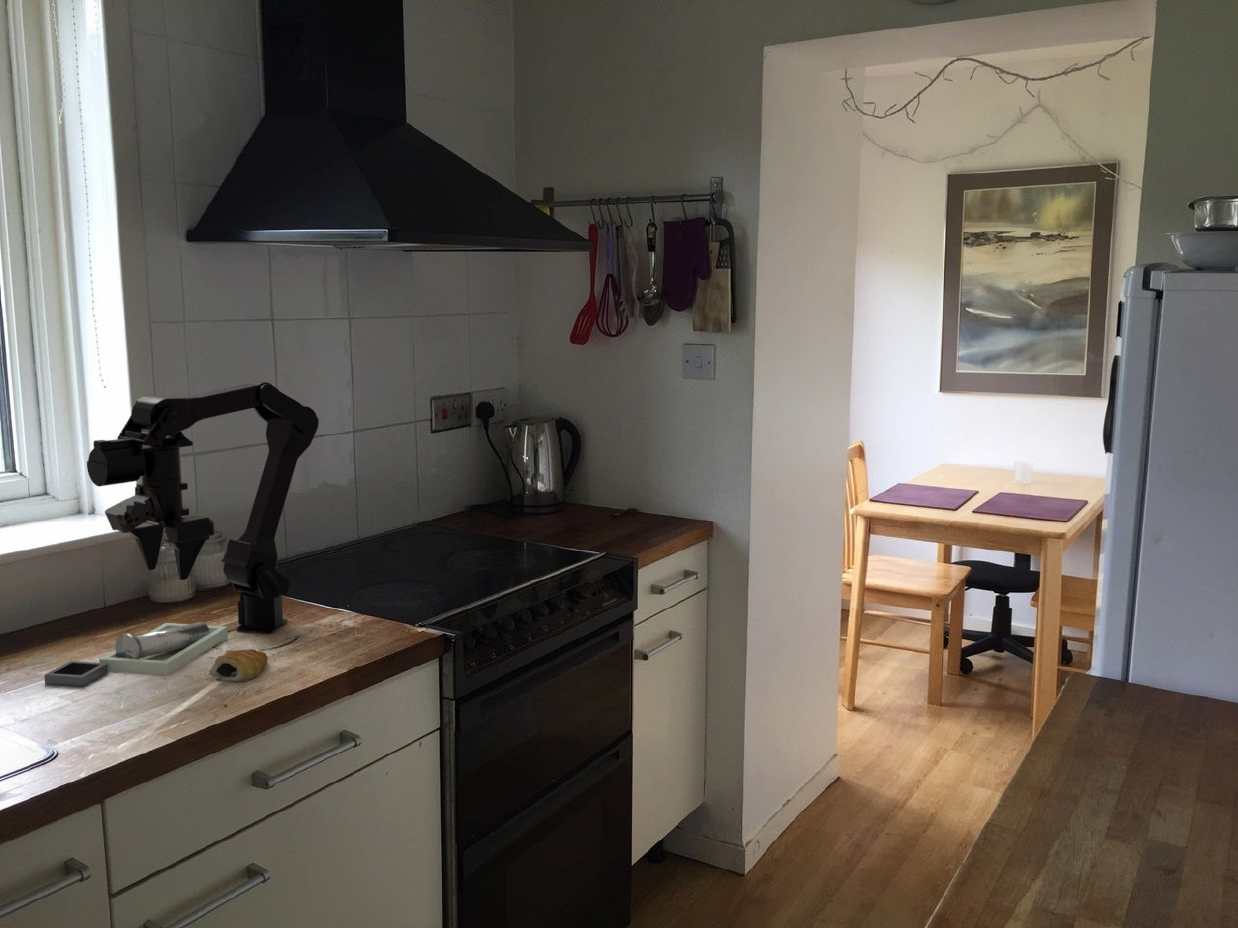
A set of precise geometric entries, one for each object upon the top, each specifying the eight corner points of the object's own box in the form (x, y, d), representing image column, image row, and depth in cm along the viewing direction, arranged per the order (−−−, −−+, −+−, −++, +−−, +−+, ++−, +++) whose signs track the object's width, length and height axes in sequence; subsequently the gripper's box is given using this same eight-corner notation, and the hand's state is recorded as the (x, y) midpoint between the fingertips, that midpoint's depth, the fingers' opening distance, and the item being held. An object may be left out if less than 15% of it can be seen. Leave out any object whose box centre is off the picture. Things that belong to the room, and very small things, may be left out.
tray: (228, 641, 181) (227, 626, 181) (168, 679, 163) (167, 663, 163) (166, 637, 183) (165, 622, 182) (100, 674, 165) (99, 658, 165)
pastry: (240, 661, 172) (240, 637, 172) (279, 665, 171) (279, 641, 170) (206, 681, 163) (205, 657, 163) (246, 686, 162) (246, 661, 161)
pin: (207, 614, 177) (130, 630, 165) (215, 643, 176) (138, 661, 164) (189, 621, 179) (112, 638, 167) (196, 650, 179) (119, 668, 167)
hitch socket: (108, 677, 164) (107, 663, 163) (83, 692, 158) (82, 677, 157) (71, 675, 165) (70, 660, 164) (45, 689, 159) (44, 674, 158)
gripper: (80, 477, 170) (87, 575, 172) (144, 492, 158) (151, 596, 161) (148, 468, 178) (153, 561, 181) (213, 481, 167) (218, 580, 170)
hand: (167, 574), depth 173 cm, fingers open, 9 cm apart
